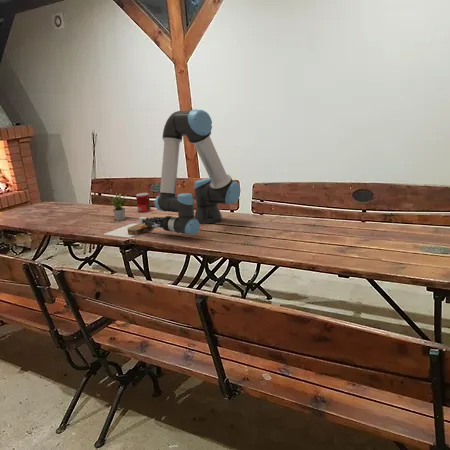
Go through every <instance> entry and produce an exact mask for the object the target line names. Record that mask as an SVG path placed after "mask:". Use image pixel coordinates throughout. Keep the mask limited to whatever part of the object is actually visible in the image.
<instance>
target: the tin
mask: <svg viewBox="0 0 450 450" xmlns="http://www.w3.org/2000/svg"><path fill="white" fill-rule="evenodd" d="M137 224H138V225H135V226H132V227H129V228H128V229H127V230H128V234H132V235H136V236H138V235H137V234H139V235H141V234H143V233H146V232H147V233H148V232H149V231H151V230H153V229H154V228H152V227H149V226H146V225H145V223H137Z"/></svg>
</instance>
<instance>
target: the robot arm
mask: <svg viewBox="0 0 450 450" xmlns="http://www.w3.org/2000/svg"><path fill="white" fill-rule="evenodd" d="M212 124H213V120H212V118H211V116H210V114H209V113H208V112H207V111H205V110H202V109H190V110H177V111H175V112H173V113H171V114H170V115H169V117H168V118H167V119H166V122H165V124H164V128H163V129H162V131H163V132H162V140H163V153H162V155H163V156H162V165H161V166H162V167H161V177H160V187H159V188H160V190H159V191H160V192H159V195H158V196H156V197H155V199H154V203H153V204H154V207H155V208H156V209H157V210H158V211H161V212H170V213H177V214H178V215H177V216H173V215H172V216H171V215H166V216H165V217H163V216H162V217H161V216H154V217H145V216H140V217H138V221H139V222H138V224H141V223H145V225H146V226H149V227H152V228H153V229H156V228H160V229H161V228H162V229H163V230H164V231H166V232H173V233H176V234H185V235H191V236H192V235H193V236H194V235H196V234H198V233H199V231H200V227H201V225H202V224H203V225H204V224H206V225H208V224H215V223H218V222H221V221H222V220H223V216H222V213H221V210H220V208H219V206H218V204H223V205H234V204H236V203H237V202H238V200H239V199H240V197H241V185H240V183H238V181H234V180H233V179H232V177H231V175H230V174H227V172H226V170H225V168H224V166H223V163H222V160H221V158H220V156H219V154H218V152H217V150H216V148H215V145H214V143H213V141H212V139H211V134H212V129H213V125H212ZM184 136H186V138H187V140H188V142H189V143H190V144H193V145H194V148H195V150H196V152H197V153H198V157H199V158H200V160H201V162H202V164H203V167H204V168H205V171H206V173H207V175H208V178H203V179H198V180H196V181H194V185H193V186H194V188H193V189H194V195H193V193H191V192H190V193H189V192H182V193H178V194H177V196H176V189H177V178H178V169H179V155H180V145H181V143H182V142H183V137H184ZM194 196H195V197H194ZM194 198H195V201H194ZM195 205H196V209H195ZM155 227H156V228H155Z"/></svg>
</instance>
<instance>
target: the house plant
mask: <svg viewBox="0 0 450 450" xmlns="http://www.w3.org/2000/svg"><path fill="white" fill-rule="evenodd" d="M122 194H123V193H119V194H118V193H117V192H116V193H115V196H113V195H111V197H112V198H111V197H110V196H108V197H107V199H109V200H110V201H111V202H110V204H109V205H108V207H109V208H114V209H112V212H113V216H114V218H115V220H116V221H124V220H125V219H126V208H125V207H124V205H125V204H128V202H127V201H129V200H131V199H130V198H126V199H125V197H127V194H125V195H124V196H122Z"/></svg>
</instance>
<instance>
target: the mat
mask: <svg viewBox="0 0 450 450" xmlns="http://www.w3.org/2000/svg"><path fill="white" fill-rule="evenodd" d="M138 224H139V223H129V224H126V225H125V226H122V227H120V228H119V227H118V228H116V229H114V230H110V231H108V232H105V233H103V234H102V235H103V236H107V237H115V238H123V239H132V238H133V237H136V236H138V235H140V234H137V235H132V234H128V230H127V229H128V228H129V227H132V226H135V225H138ZM156 228H157V227H155V228H154V229H156Z"/></svg>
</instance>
